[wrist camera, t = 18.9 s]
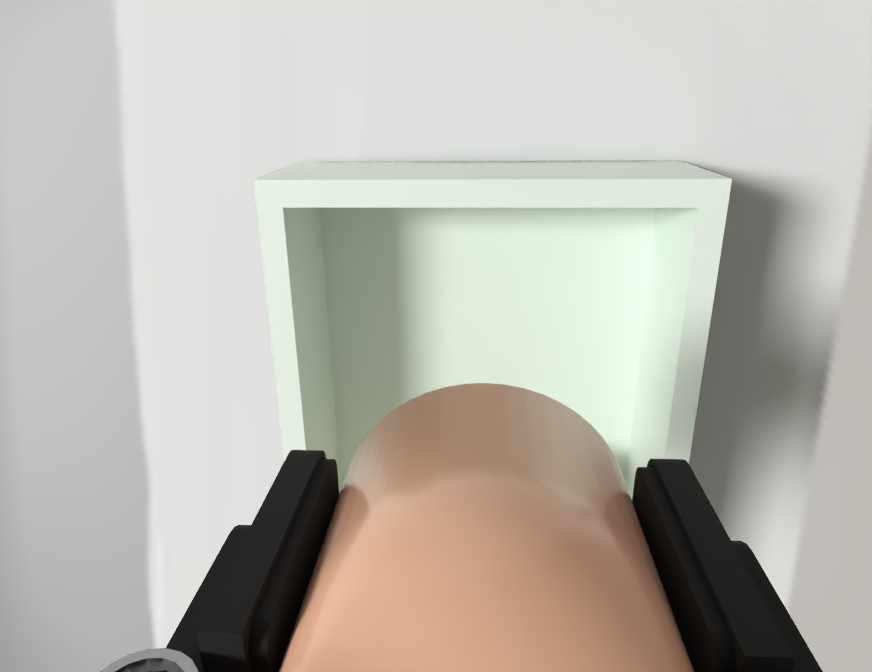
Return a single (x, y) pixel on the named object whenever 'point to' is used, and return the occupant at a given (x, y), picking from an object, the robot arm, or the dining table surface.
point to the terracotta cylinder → (485, 549)
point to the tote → (491, 292)
